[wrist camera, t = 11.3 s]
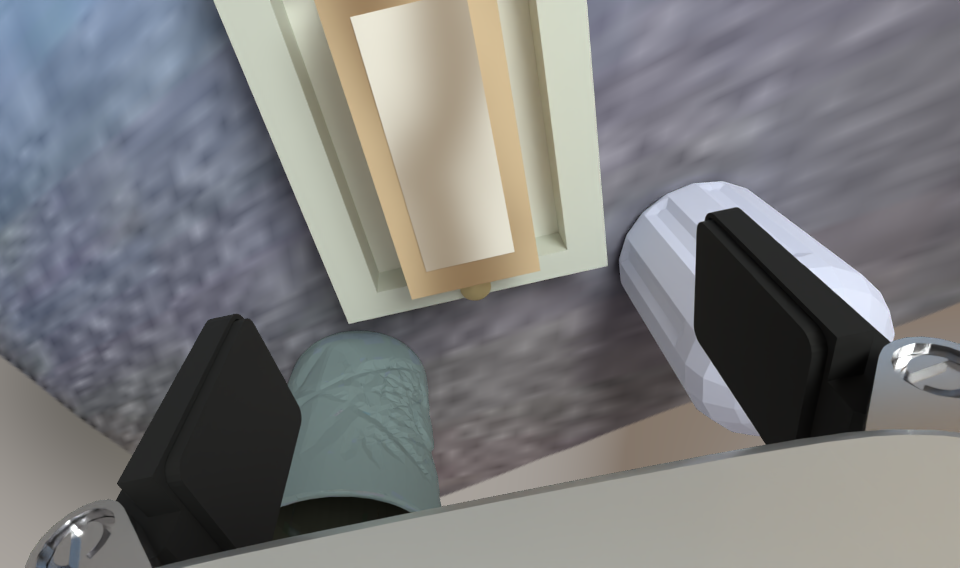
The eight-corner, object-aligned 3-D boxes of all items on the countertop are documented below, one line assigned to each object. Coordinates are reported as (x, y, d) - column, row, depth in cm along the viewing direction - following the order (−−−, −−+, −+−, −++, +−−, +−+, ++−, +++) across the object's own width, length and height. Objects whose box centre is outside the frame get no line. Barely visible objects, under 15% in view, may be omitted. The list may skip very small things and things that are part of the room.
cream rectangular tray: (565, -161, 21) (590, -177, 18) (599, 236, 31) (619, 268, 28) (197, -73, 22) (162, -74, 19) (346, 293, 32) (339, 331, 29)
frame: (472, -62, 22) (487, -62, 18) (521, 222, 29) (540, 271, 25) (327, -28, 22) (307, -19, 18) (412, 247, 29) (412, 300, 25)
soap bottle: (790, 248, 33) (1412, 759, 13) (665, 335, 36) (1007, 873, 15) (722, 144, 29) (1479, 650, 8) (586, 251, 32) (909, 832, 11)
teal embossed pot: (463, 352, 35) (483, 520, 25) (400, 452, 39) (395, 630, 29) (307, 299, 32) (258, 469, 21) (257, 415, 36) (197, 601, 26)
